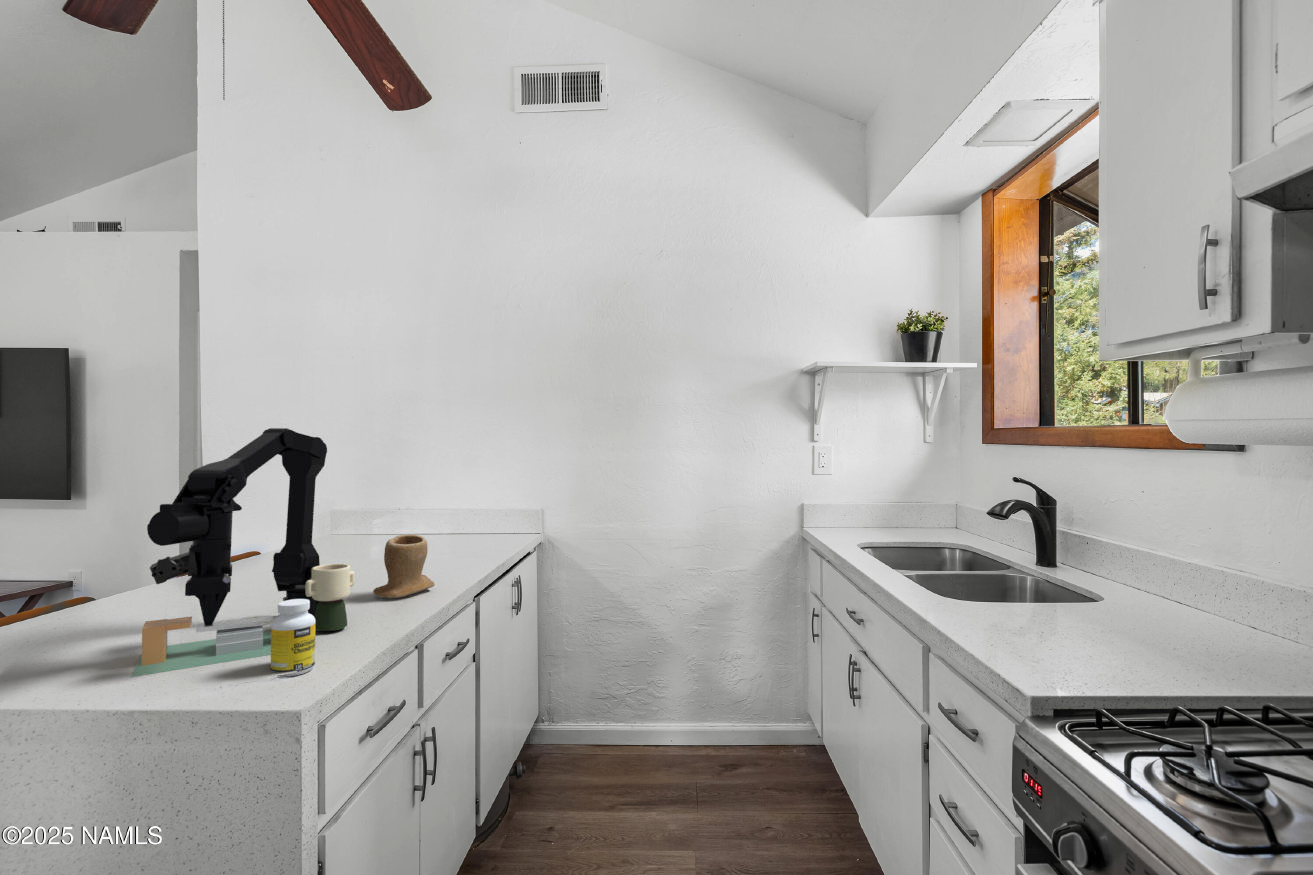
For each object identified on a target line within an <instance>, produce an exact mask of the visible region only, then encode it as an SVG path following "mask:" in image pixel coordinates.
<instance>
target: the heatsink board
mask: <svg viewBox="0 0 1313 875" xmlns="http://www.w3.org/2000/svg"><path fill="white" fill-rule="evenodd" d="M263 626H264V625H263ZM263 626H253V627H243V628H234V629H224V630H216V635H215V638H212V639H205V640H198V641H191V642H185V643H177V644H169V645H167V656H166V659H165V662H162V663H156V664H149V665H143V666H142V653H141V654H140V656H139V657H138V658H139V659H138V660H137V663H136V665H135V667H134V670H133V671H132V673H131V675H130V678H135V677H141V676H142V677H143V676H149V675H153V674H160V673H166V672H167V673H168V672H172V671H179V670H185V669H190V668H191V669H192V668H197V667H198V668H199V667H204V666H209V665H215V664H223V663H229V662H234V661H241V660H247V659H253V658H254V659H255V658H259V657H260V658H261V657H267V656H271V630H270V631H269V630H268V631H264V628H263Z"/></svg>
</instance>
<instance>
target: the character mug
mask: <svg viewBox="0 0 1313 875" xmlns="http://www.w3.org/2000/svg"><path fill="white" fill-rule="evenodd" d="M355 575H356V574H355V571H353V570H351V566H350V564H347V563H329V564H321V565H320V566H316V567H313V568H312V577H311V580H308V581H306V596H307V597H310V596H312V598H313V599H314V600H317V601H319V602H318V604H317V607H316V613H315V631H322V632H323V633H326V631H338V630H342V629H345V628H346V627H348V616H347V610H346V602H345V601H344V599H346V598H348V597H349V596H350V593H351V587H352V588H353V586H354V585H355Z"/></svg>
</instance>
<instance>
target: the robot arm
mask: <svg viewBox="0 0 1313 875" xmlns="http://www.w3.org/2000/svg"><path fill="white" fill-rule="evenodd" d="M327 453H328V447H327V444H326V443H325V442H324V440H323V439H322V438H321V437H318V436H311V435H307V434H303V433H299V432H296V430H295V431H294V430H293V429H289V428H287V427H286V428H285V427H279V428H278V427H271V428H268V429H265V430H264V431H263V432H262V434H260V435H259V436H258V437H256V438H254V439H253V440H252V441H251V442H249V443H248V444H246V445H244V446H243V447H242V448H240V449H239V450H237V451H236V452H234V453H233V454H231V455H229V456H228V457H227V458H225V459H223V460H218V461H214V462H210V463H207V464H205V465H204V464H203V465H202V466H199V467H197V468H195V469H194V470H192V471H191V472H190V473H189V474H188V477H187V480H186V482H185V483H184V485H183V486H182V488H181V489H180V491H179V493H178V494H177V496H176V497H175V498H174V500H173V501H172V503H161V504H160V505H159V511H158V512H156V513H155V514H154V515H153V516H152V517H151V518H150V520H149V522H148V524H147V528H146V530H147V534H148V535H147V536H148V538H149V539H150V541H152V542H153V544H155V545H157V546H161V547H162V546H164V547H165V546H170V545H171V546H173V545H177V544H183V543H190V542H192V544H190V546H189V548H188V552H184V553H181V554H178V555H175V556H171V557H170V556H168V555H167V556H166V557H165V558H162V559H161V558H160V559H158V560H157V562H155V563H152V564H151V565H150V566H149V570H150V573H151V576H152V578H153V579H154V582H155V584H156V585H160V584H164V583H166V582H167V581H169V580H171V579H175V578H178V577H180V576H182V575H186V574H187V577H190V578H189V579H188V580H187V581H186V583H185V588H184V589H185V590H184V596H186V597H193V596H194V597H195V598H197V599H198V602H199V607H200V610H201V615H202V619H203V623H204V625H212V624H213V622H215V620H216V618H217V617H218V614H219V611H220V610H221V607H222V606H223V604H224V602H225V600H226V597H227V595H228V594H229V593H231V587H232V586H231V584H232V577H233V564H232V563H231V560H232V559H231V558H232V557H231V556H232V540H233V539H232V534H233V531H232V530H233V512H238V511H241V510H242V509H243V508H242V506H241V505H240V504H239V503H237V502H236V501H235V500H234V499H235V498H236V497H237V496H238V495H239V494H240V493H241V492H242V491H243V489H245V487H246V486H247V483H248V482H247V481H248V478H249V477H250V476H251V475H252V474H254V473H255V472H256V471H258V469H260V468H261V467H262V466H264V465H265V464H266V463H268V462H269V461H271V460H272V459H273V458H275V457H276V456H277V455H279V456H281V464H282V467H283V468H284V470H285V472H286V473H287V475H288V477H289V480H288V481H289V482H288V483H289V486H288V500H287V512H286V514H287V517H286V533H285V544H284V545H283V547H282V548H281V550H280V551H279V552H275V553H274V554H273V559H272V560H273V561H272V562H273V564H272V565H273V566H272V570H271V573H273V579H274V581H275V585H276V588H277V591H278V592H285V597H284V596H283V597H282V602H283V601H286V600H292V599H308V600H309V601H310V608H309V610H308V613H309V614H311V615H313V616H314V618H315V613H316V607H317V604H318V602H319V601H317V600H314V599H313V598H312V596H310V597H307V596H306V581H308V580H311V577H312V568H313V567H316V566H320V563H321V562H320V555H319V553H318V552H317V550H316V548H315V546H314V545H313V532H314V531H313V529H314V513H315V512H314V511H315V498H316V497H315V496H316V495H315V494H316V478H317V477H318V475H319V473H320V472H321V471H322V470H323V468H324V467H325V464H326V457H327Z"/></svg>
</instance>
